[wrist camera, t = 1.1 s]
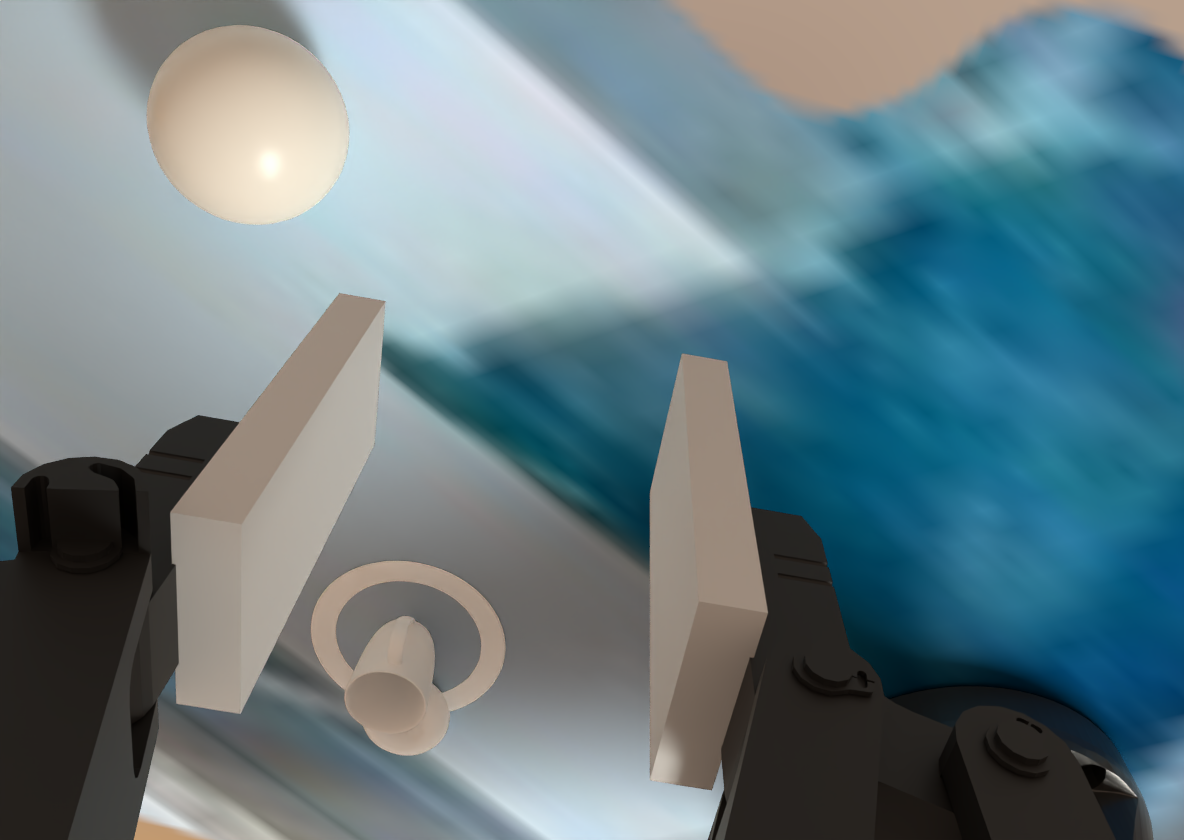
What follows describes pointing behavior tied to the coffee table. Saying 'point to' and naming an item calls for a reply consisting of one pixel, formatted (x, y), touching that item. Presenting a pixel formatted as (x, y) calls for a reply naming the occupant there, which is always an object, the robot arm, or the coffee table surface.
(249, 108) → the cue ball
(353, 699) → the teacup and saucer
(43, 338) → the coffee table surface
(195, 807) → the coffee table surface
